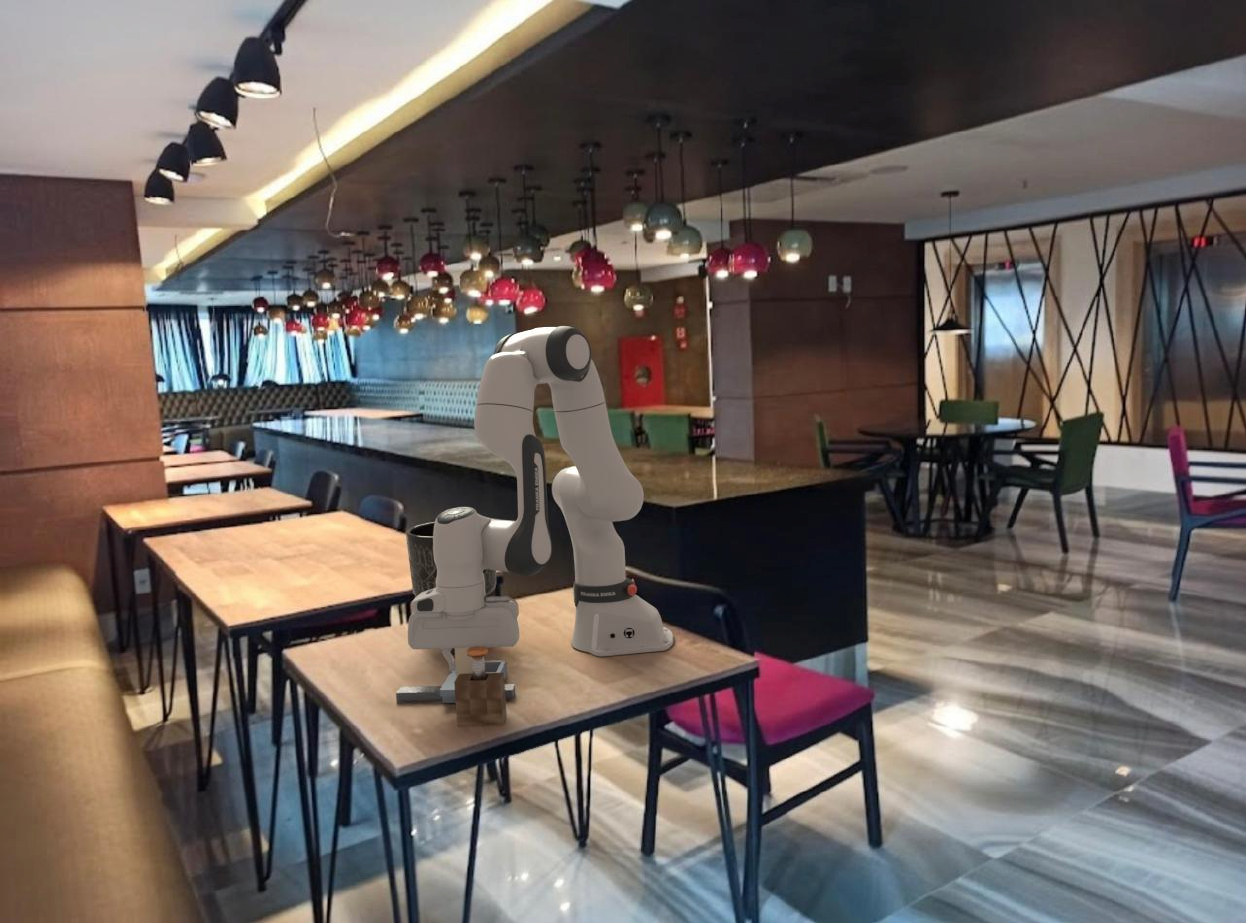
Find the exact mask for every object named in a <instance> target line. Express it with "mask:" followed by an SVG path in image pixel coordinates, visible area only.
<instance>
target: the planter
mask: <svg viewBox="0 0 1246 923" xmlns="http://www.w3.org/2000/svg"><path fill="white" fill-rule="evenodd" d="M434 524H435V521H433V522H432V521H431V522H427V523H422V524H418V525H415V526H412V527H409V529H406V531H405V538H406V546H407V553H408V554H407V555H408V561H409V562H408V563H409V570H410V579H411V586H412V593H413V595H414V596H415V597H417V596H418V595H419V594H420V593H422V592H424V591H427V590H430V589H433V588H436V577H437V567H436V564H435V562H434V552H433V532H434ZM483 574H484V578H485V593H486V596H496V585H497V571H495V570H490V569H484V570H483ZM450 653H451V654H452V656H455V648H452V650H451V652H450Z"/></svg>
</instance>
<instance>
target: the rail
mask: <svg viewBox="0 0 1246 923" xmlns="http://www.w3.org/2000/svg"><path fill="white" fill-rule="evenodd" d="M441 687H442V685H429V686H428V685H427V686H426V685H425V686H423V685H422V686H419V685H418V686H399V689H398V690H396V692H395V696H396V704H412V703H413V704H417V703H420V704H421V703H422V704H423V703H443V696H440V691H439V690H440V688H441ZM515 696H516V684H515V683H505V699H506V701H514V698H515Z"/></svg>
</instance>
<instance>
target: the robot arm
mask: <svg viewBox="0 0 1246 923" xmlns="http://www.w3.org/2000/svg"><path fill="white" fill-rule="evenodd" d="M493 351H494V352H493V353H492V356H490V357H489V358H488V359H487V361H486V363H485V365H484V368H483V370H482V371H483V372H482V375H481V377H480V378H481V379H480V382H479V387H478V391H477V396H476V397H477V398H476V402H475V412H474V418H473V419H474V422H473V423H474V424H473V426H474V433H475V436H476V438H477V440H478V442H479V443H480V444H481V446H483V448H484V449H485V450H487V451H488V452H489V453H490V454H492V455H494V456H496V457H498V458H500V459H501V460H503V461H505V462H507V463H508V464H509V466H510V467H512V469H513V470H514V473H515V476H516V480H517V481H516V484H517V485H516V486H517V519H516V520H507V519H499V518H491V517H487V516H484V515H481V514H479V513H478V512H477V510H476V509H475V508H474V507H470V506H458V507H454V508H453V507H452V508H448V509H446V510H444V511H442V512H440V513H439V514H438V515H437V517H436V518H435V521H434V522H435V524H434V532H433V552H434V562H435V564H436V567H437V577H436V588H433V589H430V590H427V591H424V592H422V593H420V594H419V595H418V596H417V597H416V596H415V597H414V599H413V600H412V601H411V603H410V609H411V611H412V614H411V615H410V616H409V618H408V624H407V644H408V646H409V647H410V648H411V649H413V650H435V649H436V650H437V649H438V650H440V649H441V653H442V654H441V655H442V656H443V658H444V659H445V661H446V662H447V663H448V669H449V672H452V671H456V661H455V656H454V655H452V654H451V653H450V652H451V650H452V648H471V647H474V646H485V647H487V648H488V649H489V648H511V647H512V648H513V647H514V646H516V644H517V643H518V641H519V639H520V628H519V623H518V616H519V614H520V612H519V611H520V610H519V603H518V601H517V600H516V599H514V598H513V597H511V596H509V595H502V596H498V595H495V596H486V593H485V578H484V574H483V570H484V569H490V570H495V571H496V572H502V573H503V572H504V573H510V574H514V575H517V576H521V577H522V576H523V577H527V578H529V577H531V578H532V577H534V576H535V575H537V574H538V573H540V572H541V571H542V570H543V569H544V568H545V567H546V566H547V565H548V563H549V561H550V560H551V558H552V553H553V542H552V535H551V531H550V525H549V524H550V523H549V516H548V514H549V512H548V510H549V509H548V488H547V483H548V482H547V468H546V467H547V465H546V463H547V462H546V455H545V454H546V453H545V449H544V445H543V443H542V441H541V440H540V439H539V438H538V437H537V436H536V432H535V427H534V421H533V420H534V407H535V389H536V387H537V386H538V385H542V384H548V386H549V387H550V391H551V393H550V394H551V399H552V400H551V401H552V406H553V412H554V418H555V422H556V427H557V433H558V437H559V442H560V445H561V448H562V449H563V450H564V451H565V453H566V454H567V455H568V456H569V458H570V459H571V461H572V462H573V465H574V466H569V467H565V468H563V469H561V470H560V471H559V472H558V473H557V474H556V475H555V477H554V478H553V482H552V485H551V494H552V497H553V500H554V501H555V503H556V504H557V506H558V508H560V510H561V513H562V514H563V516H564V520H565V523H566V526H567V529H568V532H569V533H568V534H569V535H570V539H571V544H572V549H573V560H574V561H573V562H574V563H573V564H574V576H575V577H574V578H575V580H574V582H573V588H572V591H573V592H572V593H573V603H574V606H575V618H574V619H575V621H574V627H573V634H572V638H571V643H570V645H571V646H572V647H573V648H575V649H576V650H579V651H581V652H586V653H590V654H592V655H593V656H596V657H610V656H621V655H631V654H641V653H652V652H662V651H666V650H669V649H670V648H671V647H672V646H673V644H674V633H673V632H672V631H671V629H670V628H667V627H665V626H664V625H663V621H662V617H661V615H660V613H659V611H658V609H657V608H656V607H654V606H653V605H652V604H650V603H649V602H647V601H646V600H644V599H643V598H641V597H640V596H639V595H637V594H636V593H637V591H638V587H637V585H636V582H635V580H634V578H632V579H630V578H629V577H626V576H627V575H626V555H625V545H624V544H625V543H624V542H623V539H622V538H621V537H620V536H619V534H618V533H617V531H616V528H615V526H614V523H615V522H622V521H629V520H631V519H633V518H634V517H635V516H637V515H638V514H639V512H640V511H641V509H642V506H643V504H644V497H645V495H644V489H643V486H642V483H641V482H640V481H639V480H638V479H637V478H636V477H635V476H634V475H633V473H632V472H631V471H630V469H629V467H628V466H627V464H626V463H625V461H624V459H623V457H622V455H621V452H620V451H619V449H618V447H617V444H616V441H615V439H614V436H613V433H612V428H611V424H610V418H609V414H608V408H607V404H606V398H605V392H604V388H603V385H602V382H601V379H600V376H599V373H598V370H597V367H596V365H595V362H594V361H593V359H592V350H591V345H590V342H589V339H588V338H587V336H586V335H585V333H584V332H582V330H580V329H579V328H576V327H572V326H567V325H559V326H556V327H555V326H549V327H548V326H547V327H546V326H545V327H536V328H533V329H530V330H525V331H522V332H512V333H510V334H508V335H505V336H504V337H502V338H501V339H500V340H499V341H498V343H497V344H496V345H495V347H494V350H493Z"/></svg>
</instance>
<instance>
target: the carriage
mask: <svg viewBox="0 0 1246 923" xmlns="http://www.w3.org/2000/svg"><path fill="white" fill-rule="evenodd" d="M467 649H469V648H455V655H454V659H455V661H456V671H451V673H449V675H448V676H447V678H446V679H445V681H444V682H443V684H442V685H441V686H442V687H441V688H440V690H439V691H440V696H443V702H442V703H443V704H450V703H451V704H453V703H454V704H456V700H455V686H454V682H455V680H456V678H457V677H458V675H459V674H469V673H473V670H472V657H469V656H468V655H467ZM507 666H508V665H507V660H506V659H505V660H504V659H501V660H496V659H495V660H485V673H504V681H505V680H506V678H507V675H508V669H507Z"/></svg>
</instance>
